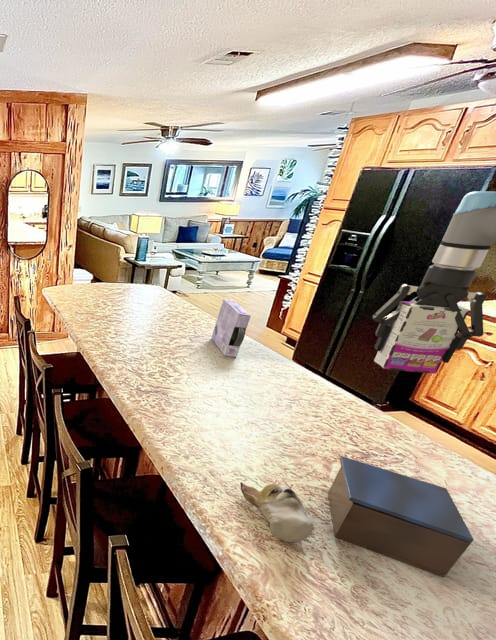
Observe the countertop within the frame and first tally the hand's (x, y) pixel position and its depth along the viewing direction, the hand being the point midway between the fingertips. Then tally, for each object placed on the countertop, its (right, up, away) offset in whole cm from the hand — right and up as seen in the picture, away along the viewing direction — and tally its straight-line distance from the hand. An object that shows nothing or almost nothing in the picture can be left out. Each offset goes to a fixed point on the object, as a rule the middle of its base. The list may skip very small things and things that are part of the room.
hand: (409, 354), depth 95 cm
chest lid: (-26, -27, -23) cm, 44 cm away
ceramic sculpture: (-45, -34, -17) cm, 59 cm away
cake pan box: (-14, +3, +60) cm, 62 cm away
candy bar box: (0, -3, +2) cm, 4 cm away
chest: (-25, -35, -19) cm, 47 cm away
